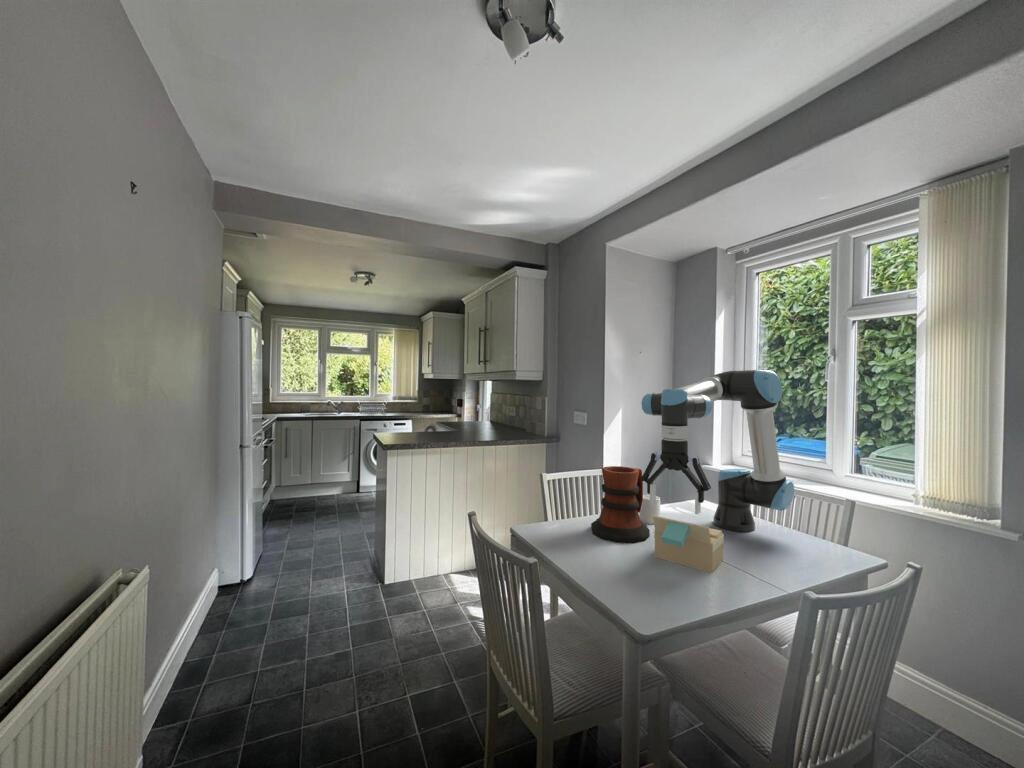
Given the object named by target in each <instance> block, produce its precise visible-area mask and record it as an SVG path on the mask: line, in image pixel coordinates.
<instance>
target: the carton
mask: <svg viewBox="0 0 1024 768" xmlns="http://www.w3.org/2000/svg"><path fill="white" fill-rule="evenodd" d="M709 530H710V538H711V544H707V543H703V542H699V541H695V540H690V539H686V540H685V542H684V544H683V546H682V547H680V546H676V545H672V544H668V543H664V542H662V538H661V536H662V534H663V533H661V532H656V531H655V530H654V531H653V534H654V536H653V538H654V558H657V559H661V560H665V561H669V562H671V563H675V564H679V565H682V566H687V567H690V568H693V569H698V570H701V571H704V572H708V573H712V574H713V573H714V571H716V569H717V568H718V567H719V566H720V565H721V563H723V561H724V541H725V534H724V533H723V532H722V530H720V529H715V528H712V527H709Z"/></svg>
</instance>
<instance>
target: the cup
mask: <svg viewBox="0 0 1024 768" xmlns="http://www.w3.org/2000/svg"><path fill="white" fill-rule="evenodd" d="M638 514H639V517H640V520H641V521H642V523H643V524H645V525H647V524H648V525H654V520H653V516H658V517H661V497H660V496H658V495H656V504H654V505H653V506H652V505H650V494H643V501H642V505H641V510H640V512H639V513H638Z"/></svg>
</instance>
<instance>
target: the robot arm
mask: <svg viewBox="0 0 1024 768" xmlns="http://www.w3.org/2000/svg"><path fill="white" fill-rule="evenodd" d="M782 396H783V385H782V382H781V379H780V377H779V375H778V374H777V373H776V372H774V371H773V370H769V369H768V370H767V369H766V370H764V369H750V370H749V369H746V370H728V371H724V372H720V373H716V374H713V375H710V376H706V377H704V378H702V379H701V380H700V381H698V382H694V383H691V384H688V385H685V386H680V387H677V388H665V389H663V390H662V391H661V392H660V393H655V392H652V393H647V394H644V396H643V397H642V399H641V402H640V403H641V410H642V412H643V413H644V414H646V415H650V416H653V417H655V416H659V417H661V425H660V426H661V438H662V440H660V441H661V446H660V447H661V454H660V453H658V452H657V451H655V452H652V453H651V454H650V460H649V462H648V464H647V466H646V468H645V470H644V472H643V473H642V478H641V480H642V481H643V482H645V483H646V492H647V495H650V505H652V506H653V505H654V504H656V496H657V495H656V493H657V489H656V488H657V487H656V483H655V482H654V481H656V480H657V479H658V477H659V476H660V475H661V474H662V473H663V472H664V471H666V469H668V470H669V471H678V472H679V471H681V472H682V473H683V474H684V475H685V476H686V477H687V478H688V481H690V483H691V484H692V485H693V486H694V488H695V489H696V491H694V514H695V515H699V514H700V513H702V512H701V508H702V507H701V504H702V503H704V501H705V492H707V491H709V490H711V488H712V487H711V485H710V482H709V480H708V478H707V476H706V474H705V472H704V470H703V468H702V466H701V463H700V457H698V456H695V457H689V452H688V451H689V447H688V445H689V442H688V440H687V439H688V438H689V433H688V431H689V430H688V428H689V425H688V421H689V419H701V418H705V417H708V416H709V415H710V414H711V412H712V410H713V402H717V401H731V402H732V401H733V402H740V408H741V410H743V411H745V412H746V420H747V421H746V422H747V426H748V427H747V428H748V434H749V443H750V450H751V458H752V464H753V470H752V471H751V470H750V469H747V468H725V469H722V470H720V471H719V473H718V479H717V484H718V485H717V487H718V489H717V493H718V495H717V496H718V498H717V502H718V503H717V504H718V505H717V507H716V510H715V512H714V515H713V524H714V525H715V526H716V527H719V528H721V529H724V530H728V531H734V532H742V533H743V532H752V531H753V532H754V530H756V522H755V519H754V515H753V514H752V511H751V505H753V506H757V507H761V508H765V509H770V510H772V511H773V510H775V511H781V512H784V511H786V510H787V509H788V508H789V507H790V506H791V504H792V502H793V500H794V496H795V485H794V483H793V481H791V480H790V479H788V480H787V476H786V475H787V474H786V472H784V471H783V470H782V469H781V465H780V458H779V451H778V449H779V448H778V443H777V442H778V441H777V434H776V425H775V419H774V418H775V417H774V416H775V415H774V409H775V408H776V407H777V405H778V403H779V402H780V401H781V399H782ZM659 460H661V462H662V464H661V465H660V466H659V467H658V468H657V469H656V470H655V472H653V470H654V468H655V466H656V464H657V463H658V461H659ZM689 462H690V464H691V465H692V467H693V469H694V472H695V473H696V475H697V477H696V476H695V473H693V471H692V470H691V468H690V467H689V466H688V463H689ZM652 472H653V473H652ZM651 473H652V475H651ZM650 475H651V476H650Z"/></svg>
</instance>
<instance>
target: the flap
mask: <svg viewBox="0 0 1024 768" xmlns="http://www.w3.org/2000/svg"><path fill="white" fill-rule="evenodd" d="M653 520H654V524H653V525H654V526H653V527H654V531H656V532H661V533H663V534H662V536H661V538H662V542H664V543H668V544H672V545H676V546H680V547H682V546H683V544H684V542H685V540H686V539H690V540H695V541H699V542H703V543H707V544H711V538H710V530H709V528H710V527H709V526H705V525H699V524H695V523H690V522H687V521H682V520H676V519H672V518H667V517H661V516H660V517H658V516H653Z"/></svg>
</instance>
